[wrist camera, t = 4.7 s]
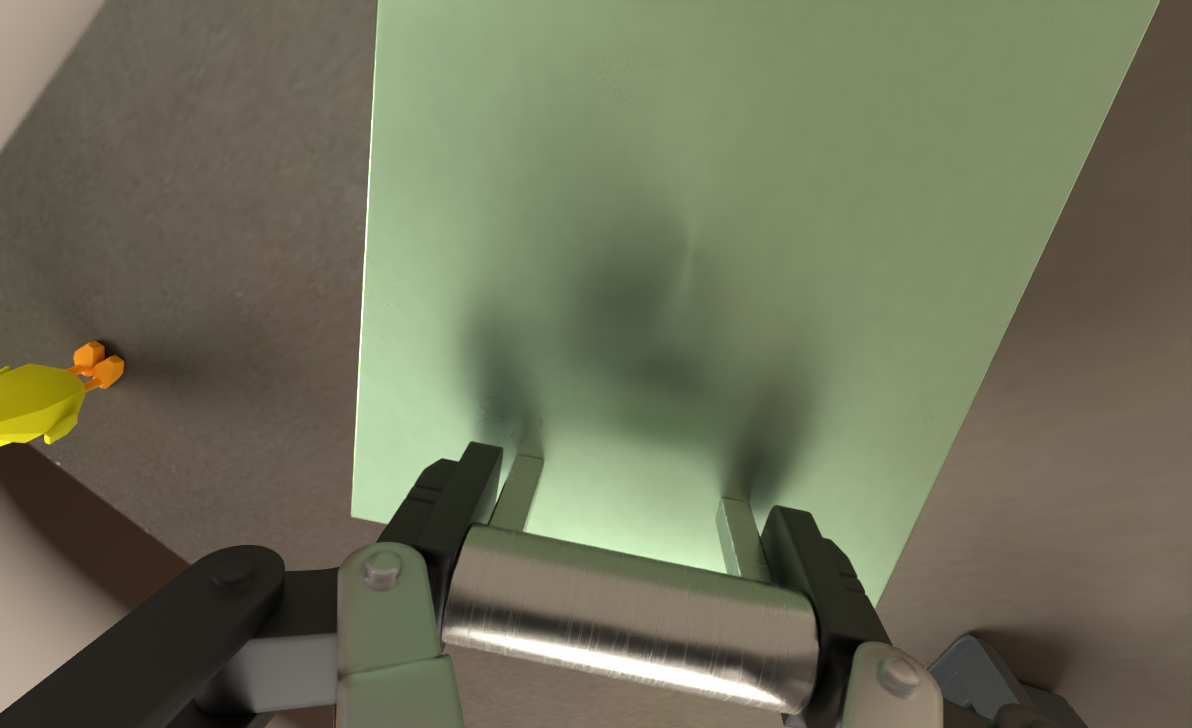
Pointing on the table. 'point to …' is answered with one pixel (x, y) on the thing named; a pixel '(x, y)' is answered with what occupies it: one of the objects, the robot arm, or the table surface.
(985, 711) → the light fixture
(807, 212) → the bin lid
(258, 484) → the table surface
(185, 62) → the table surface
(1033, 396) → the table surface
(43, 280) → the table surface
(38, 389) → the toy figure
